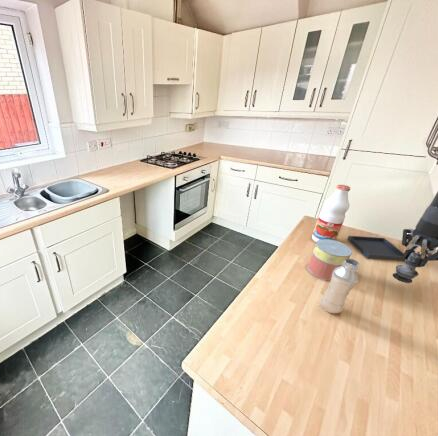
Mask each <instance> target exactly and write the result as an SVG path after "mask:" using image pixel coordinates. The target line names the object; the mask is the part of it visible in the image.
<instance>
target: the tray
mask: <svg viewBox="0 0 438 436" xmlns="http://www.w3.org/2000/svg"><path fill="white" fill-rule="evenodd" d="M347 240H348V241H349V242H350V243H351V244H352V245H353V246H354V247H355V248H356V249H357V250H358V251H359V252H360V253H361V254H362V255H363V256H364V257H365V258H366V259H372V260H385V261H386V260H387V261H397V262H398V261H399V262H406V261H405V259H403V254H404V252H403V251H402V250H401V249H399V248H398V247H397V246H395V245H394V244H393V243H391V242H390V241H389V240H388V239H386V238H385V237H378V236H377V237H376V236H359V235H358V236H356V235H348V238H347Z"/></svg>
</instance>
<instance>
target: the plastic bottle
mask: <svg viewBox="0 0 438 436" xmlns="http://www.w3.org/2000/svg"><path fill="white" fill-rule="evenodd" d="M359 266H360V263H359V261H357V260H356V259H353V258H347V259H345V260H344V262H343V263H342V266H340V267H337V268H336V269H335V270H334V271H333V273H332V277H331V281H330V282H329V283H328V287H327V289H326V290H325V292H324V293H323V294H322V295H321V297H320V299H319V305H320V307H321V308H322V309H323V310H324V311H325V312H327V313H330V314H332V315H333V314H335V315H336V314H339V313H341V312H343V310H344V308H345V305H346V300H347V299H348V295H349V294H350V293H351V290H352V289H353V288H355V286H356V284H357V283H358V282H359V275H358V272H357V271H358V269H359Z"/></svg>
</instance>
